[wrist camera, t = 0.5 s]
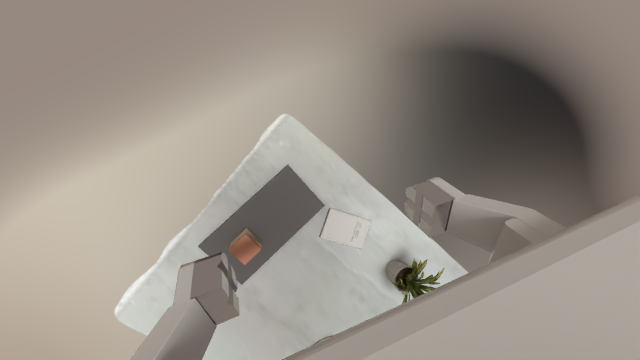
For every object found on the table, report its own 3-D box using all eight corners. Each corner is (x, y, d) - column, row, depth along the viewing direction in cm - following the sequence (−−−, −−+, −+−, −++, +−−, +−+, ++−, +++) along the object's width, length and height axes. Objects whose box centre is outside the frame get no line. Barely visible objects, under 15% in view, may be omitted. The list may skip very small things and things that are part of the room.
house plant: (426, 271, 73) (472, 303, 58) (392, 303, 72) (431, 344, 56) (402, 237, 70) (443, 260, 55) (366, 269, 68) (398, 303, 53)
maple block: (261, 241, 60) (261, 249, 55) (245, 256, 59) (244, 265, 54) (246, 227, 59) (245, 234, 54) (230, 242, 58) (228, 250, 53)
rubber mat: (323, 204, 64) (324, 205, 63) (241, 283, 60) (241, 284, 60) (287, 165, 60) (288, 165, 60) (198, 245, 57) (198, 246, 56)
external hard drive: (328, 207, 65) (369, 219, 68) (318, 236, 65) (359, 247, 68) (330, 208, 63) (371, 221, 66) (320, 238, 63) (361, 249, 66)
